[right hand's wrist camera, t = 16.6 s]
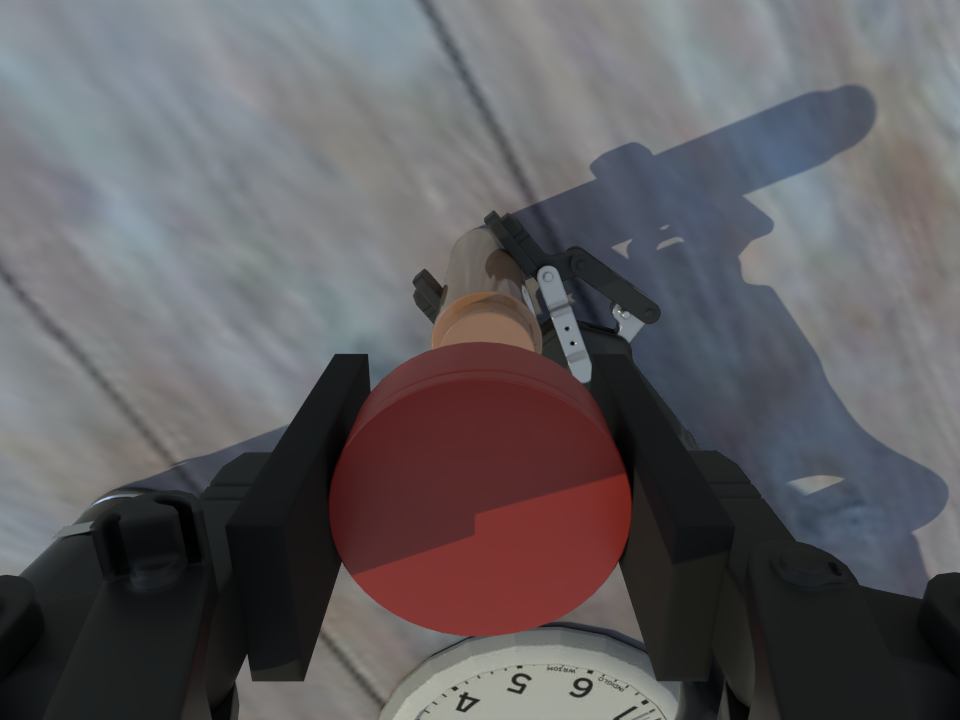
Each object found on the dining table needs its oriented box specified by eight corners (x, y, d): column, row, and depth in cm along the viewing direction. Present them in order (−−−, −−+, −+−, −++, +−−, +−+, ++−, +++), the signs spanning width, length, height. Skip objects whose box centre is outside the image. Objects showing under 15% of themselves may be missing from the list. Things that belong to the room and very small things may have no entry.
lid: (666, 444, 12) (697, 496, 10) (500, 610, 13) (503, 679, 12) (454, 284, 11) (449, 313, 9) (298, 484, 12) (269, 541, 11)
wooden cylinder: (455, 298, 41) (437, 419, 24) (445, 232, 40) (418, 309, 22) (521, 289, 41) (552, 405, 24) (513, 223, 40) (540, 294, 22)
